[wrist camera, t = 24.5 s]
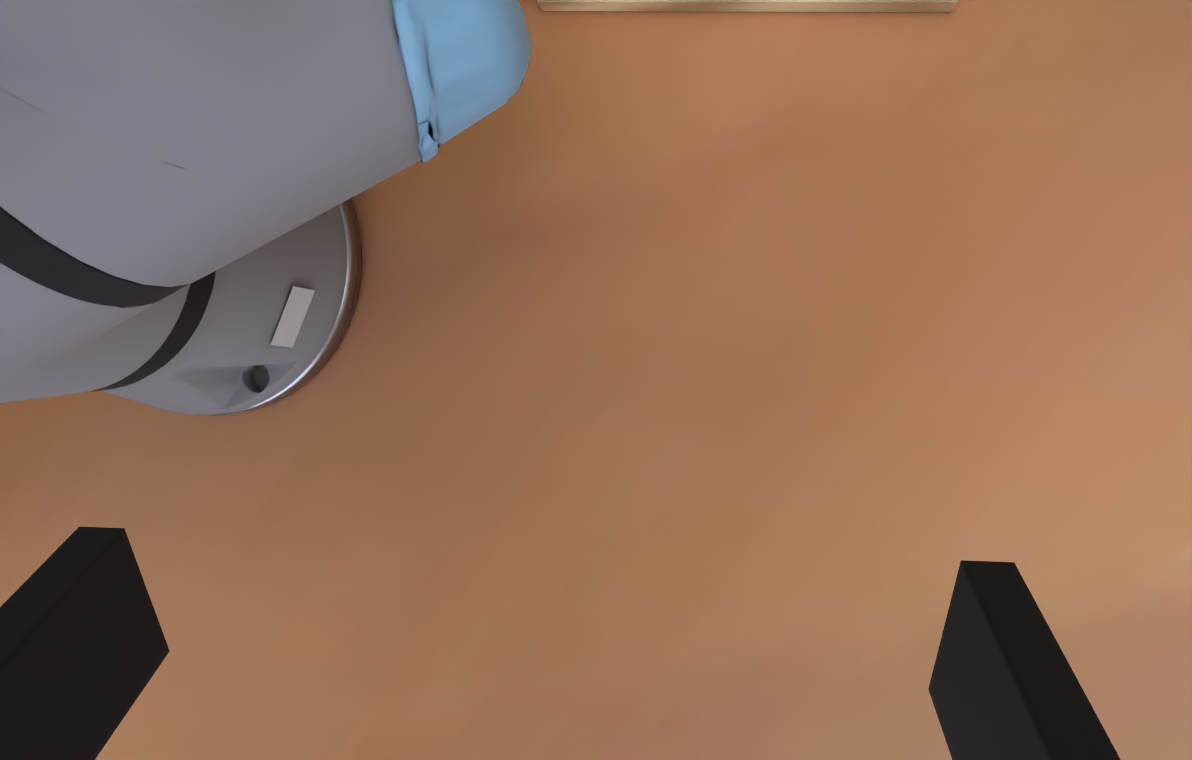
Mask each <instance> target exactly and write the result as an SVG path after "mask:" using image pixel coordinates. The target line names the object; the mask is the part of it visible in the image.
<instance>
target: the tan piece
mask: <svg viewBox="0 0 1192 760" xmlns="http://www.w3.org/2000/svg"><path fill="white" fill-rule="evenodd" d="M536 2H537V3H538V5H539V6H540V8H541V9H542V11H705V12H952V11H953V10H954V8H955V7H956V6H957V4H958V3H959V0H536Z"/></svg>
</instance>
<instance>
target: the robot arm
mask: <svg viewBox="0 0 1192 760" xmlns="http://www.w3.org/2000/svg"><path fill="white" fill-rule="evenodd" d="M530 55H531V39H530V32H529V29H528V26H527V22H526V19H525V16H524V13H523V10H522V8H521V5H520V2H519V0H0V403H5V402H13V401H21V400H29V399H37V398H45V397H53V396H61V395H70V394H77V393H84V392H92V391H103V392H106V393H109V394H113V395H116V396H119V397H122V398H126V399H129V400H132V401H136V402H139V403H142V404H145V405H149V406H152V407H155V408H158V409H162V410H166V411H170V412H175V413H181V414H193V415H224V414H231V413H236V412H241V411H246V410H251V409H256V408H260V407H263V406H266V405H269V404H272V403H274V402H276V401H278V400H281V399H283V398H285V397H286V396H288V395H290V394H292V393H293V392H295V391H296V390H298V389H299V388H300V387H302V386H303V385H305V384H306V383H307V382H308V381H309V380H311V379H312V378H313V377H314V376H315V375H316V374H317V373H318V372H319V371H320V370H321V369H322V368H323V366H324V365H325V364H326V363H327V362H328V361H329V359H330V358H331V356H332V355H333V354H334V352H335V351H336V349H337V348H338V346H339V344H340V343H341V341H342V339H343V337H344V335H345V333H346V331H347V329H348V327H349V325H350V322H351V319H352V316H353V314H354V311H355V307H356V303H357V299H358V295H359V289H360V283H361V272H362V247H361V239H360V231H359V227H358V222H357V217H356V214H355V211H354V207H353V204H352V201H351V199H350V198H352V197H354V196H356V195H357V194H359V193H361V192H363V191H365V190H367V189H369V188H370V187H372V186H374V185H376V184H378V183H380V182H382V181H383V180H385V179H387V178H389V177H391V176H393V175H395V174H396V173H398V172H400V171H402V170H404V169H406V168H408V167H409V166H411V165H413V164H415V163H417V162H419V161H421V162H423V163H425V162H427V161H429V160H431V157H434V156H436V154H437V153H438V151H439V148H440V145H442V144H443V143H445V142H446V141H448V140H449V139H451V138H452V137H454V136H456V135H457V134H459V133H460V132H462V131H463V130H465V129H467V128H468V127H470V126H471V125H473V124H474V123H476V122H478V121H479V120H481V119H482V118H484V117H486V116H487V115H489V114H490V113H492V112H494V111H495V110H497V109H498V108H500V107H501V106H503V105H505V104H506V103H507V102H508V101H509V100H510V98H511V97H512V96H513V95H514V94H515V93H516V92H517V90H518V89H519V87H520V86H521V84H522V81H523V79H524V76H525V74H526V71H527V69H528V66H529V63H530ZM168 653H169V648H168V646H167V643H166V640H165V638H164V635H163V632H162V629H161V627H160V624H159V621H158V619H157V616H156V613H155V610H154V608H153V605H152V602H151V600H150V597H149V594H148V591H147V589H146V586H145V583H144V581H143V578H142V575H141V573H140V570H139V567H138V564H137V562H136V559H135V556H134V554H133V551H132V548H131V545H130V543H129V540H128V537H127V535H126V532H125V529H124V528H98V527H79V528H78V529H77V530H76V531H75V532H74V533H73V534H72V535H71V536H70V537H69V538H68V539H67V540H66V541H65V542H64V543H63V544H62V545H61V546H60V547H59V548H58V549H57V550H56V551H55V552H54V553H53V554H52V555H51V556H50V557H49V558H48V559H47V560H46V561H45V562H44V563H43V564H42V565H41V566H40V567H39V568H38V569H37V570H36V571H35V572H34V573H33V574H32V575H31V577H30V578H29V579H28V580H27V581H26V582H25V583H24V584H23V585H22V586H21V587H20V588H19V589H18V590H17V591H16V592H15V593H14V594H13V595H12V596H11V597H10V598H9V599H8V600H7V601H6V602H5V603H4V604H3V605H2V606H1V607H0V760H95V758H96V757H97V756H98V754H99V753H100V751H101V750H102V748H103V747H104V745H105V744H106V742H107V741H108V740H109V738H110V737H111V735H112V734H113V732H114V731H115V729H116V728H117V727H118V725H119V724H120V722H121V721H122V719H123V718H124V716H125V715H126V713H127V712H128V711H129V709H130V708H131V706H132V705H133V703H134V702H135V700H136V699H137V698H138V696H139V695H140V693H141V692H142V690H143V689H144V687H145V686H146V684H147V683H148V682H149V680H150V679H151V677H152V676H153V674H154V673H155V671H156V670H157V668H158V667H159V666H160V664H161V663H162V661H163V660H164V658H165V657H166V655H167V654H168ZM929 692H930V695H931V698H932V701H933V704H934V707H935V710H936V713H937V715H938V718H939V721H940V724H941V727H942V730H943V733H944V736H945V739H946V742H947V745H948V748H949V751H950V754H951V757H952V760H1120V758H1119V756H1118V754H1117V752H1116V750H1115V749H1114V747H1113V745H1112V743H1111V741H1110V739H1109V737H1108V736H1107V734H1106V732H1105V730H1104V728H1103V726H1102V724H1101V723H1100V721H1099V719H1098V717H1097V715H1096V713H1095V712H1094V710H1093V708H1092V706H1091V704H1090V702H1089V700H1088V699H1087V697H1086V695H1085V693H1084V691H1083V689H1082V687H1081V686H1080V684H1079V682H1078V680H1077V678H1076V676H1075V674H1074V673H1073V671H1072V669H1071V667H1070V665H1069V663H1068V661H1067V660H1066V658H1065V656H1064V654H1063V652H1062V650H1061V648H1060V647H1059V645H1058V643H1057V641H1056V639H1055V637H1054V635H1053V634H1052V632H1051V630H1050V628H1049V626H1048V624H1047V623H1046V621H1045V619H1044V617H1043V615H1042V613H1041V611H1040V610H1039V608H1038V606H1037V604H1036V602H1035V600H1034V598H1033V597H1032V595H1031V593H1030V591H1029V589H1028V587H1027V585H1026V584H1025V582H1024V580H1023V578H1022V576H1021V574H1020V572H1019V571H1018V569H1017V567H1016V565H1015V563H1012V562H986V561H961V563H960V567H959V571H958V575H957V579H956V583H955V587H954V591H953V594H952V598H951V602H950V606H949V610H948V614H947V618H946V622H945V626H944V630H943V634H942V638H941V642H940V646H939V650H938V654H937V658H936V662H935V666H934V670H933V673H932V677H931V681H930V685H929Z"/></svg>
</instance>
